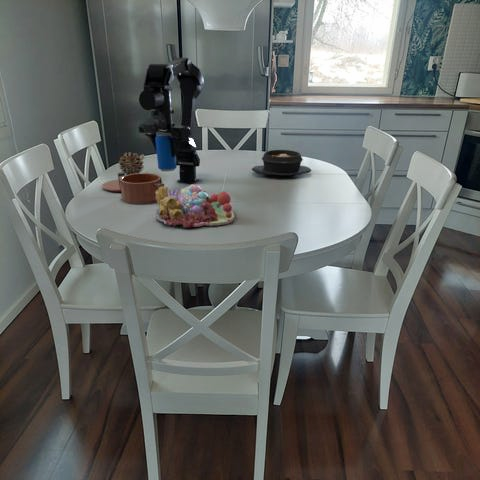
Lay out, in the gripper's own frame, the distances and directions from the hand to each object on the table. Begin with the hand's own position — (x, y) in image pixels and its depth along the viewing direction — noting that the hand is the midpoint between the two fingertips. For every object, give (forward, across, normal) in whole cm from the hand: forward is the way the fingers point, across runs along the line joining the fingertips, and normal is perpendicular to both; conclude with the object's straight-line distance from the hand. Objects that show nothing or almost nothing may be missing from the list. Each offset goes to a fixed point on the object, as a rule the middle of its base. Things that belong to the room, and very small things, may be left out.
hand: (166, 156), depth 158 cm
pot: (+13, -4, -10) cm, 17 cm away
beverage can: (+5, 0, 0) cm, 5 cm away
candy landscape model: (+13, +23, -15) cm, 31 cm away
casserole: (+13, +21, +48) cm, 54 cm away
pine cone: (+13, -30, +14) cm, 35 cm away
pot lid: (+12, -20, -4) cm, 24 cm away
